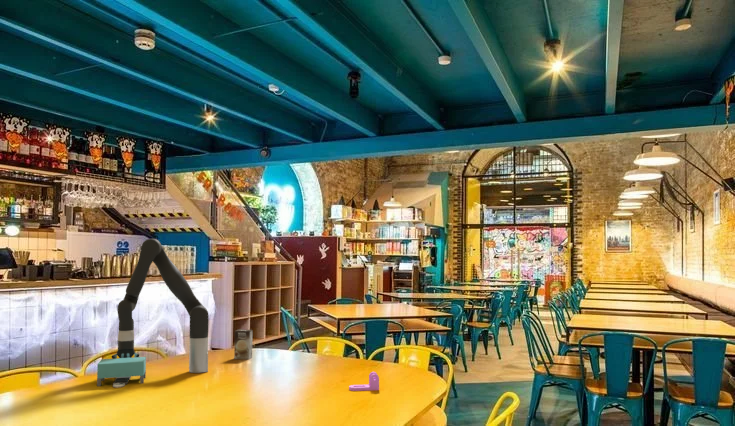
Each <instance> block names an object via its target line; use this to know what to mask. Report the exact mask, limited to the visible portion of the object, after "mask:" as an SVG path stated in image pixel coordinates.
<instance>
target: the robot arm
mask: <svg viewBox="0 0 735 426" xmlns="http://www.w3.org/2000/svg"><path fill="white" fill-rule="evenodd" d="M140 249H141V250H140V251H139V252H140V253H139V257H138V260H137V262H136V265H135V268H134V271H133V273H132V274H131V276H130V279H129V281H128V282H127V286H126V288H125V294H124V298H123V300H120V301H119V302H118V305H117V317H118V318H117V319H118V333H117V350H116V353H115V354H112V355H111V359H115V358H117V357H118V358H134V357H140V356H141V353H139V352H136V351H135V325H134V324H135V323H134V322H135V321H134V319H133V311H134V310H135V308H136V307H137V303H138V300H139V296H140V293H141V292H142V290H143V287H144V285H145V282H146V279H147V276H148V272H149V270H150V267H151V265H152V263H154V265H155V266H156V268H157V270H158V272H159V274H160V276H161V278H162V281H164V284H165V285H166V286H167V288H168V289H169V291H170V292H171V293H172V294H173V295H174V297H175V298H177V299H178V301H179V302H180V303H181V304H182V305H183V307H184V309H185V310H186V312H187V313H188V316H189V346H188V347H189V349H188V350H189V352H188V354H189V355H188V372H189V373H192V374H193V373H194V374H201V373H208V372H209V311H208V309H207V308H206V307H205V305H204V304H202V303H201V302H200V300H199V299H198V298H197V297H196V295H195V294H194V292H193V290H192V287H191V286H190V285H189V282H188V281H187V280H186V278H185V277H184V275H183V274H182V272H181V271H180V270H179V268H178V267H177V266H176V265H175V264H174V263H173V261H172V260H171V259H170V257H169V256H168V255H167V253H166V251H165V249H164V247H163V245H162V244H161V242H160V240H158V239H156V238H148V239H146V240H144V241H143V242H142V243H141V248H140ZM133 356H134V357H133Z"/></svg>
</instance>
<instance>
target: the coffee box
mask: <svg viewBox="0 0 735 426" xmlns="http://www.w3.org/2000/svg"><path fill="white" fill-rule="evenodd" d="M252 358H253V329H241V328H240V329H236V330H234V357H233V359H234V360H250V359H252Z"/></svg>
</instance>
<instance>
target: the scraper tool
mask: <svg viewBox="0 0 735 426" xmlns="http://www.w3.org/2000/svg"><path fill="white" fill-rule="evenodd" d="M131 377H132V376H129V377H115V379H114V381H113V383H112V385H113V384H115V383H125V386H127V385H128V383H129V382H130V379H131Z"/></svg>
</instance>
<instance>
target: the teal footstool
mask: <svg viewBox="0 0 735 426" xmlns="http://www.w3.org/2000/svg"><path fill="white" fill-rule="evenodd" d="M146 364H147V356H139V357H132V358H119V357H118V358H115V359H112V358H102V359H100V361H99V362H98V363H97V368H96V369H97V371H96V374H97V375H96V377H97V378H96V386H97V387H101V386H102V382H104V381H105V380H106V379H108V378H109V379H111V378H117V377H129V376H131V377H139V384H144V383H145V381H144V380H145V379H146V377H147V376H146V373H147V372H146V371H147V370H146V369H147V368H146V367H147V366H146Z"/></svg>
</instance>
